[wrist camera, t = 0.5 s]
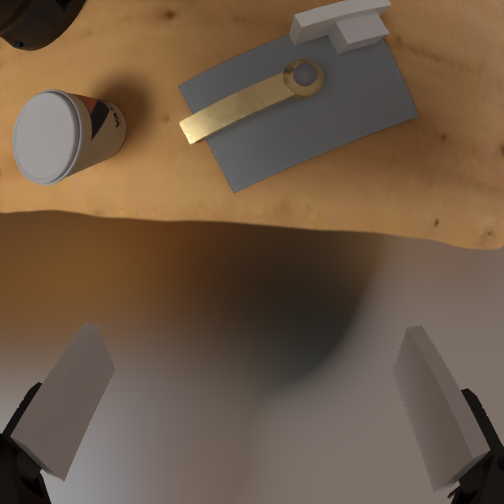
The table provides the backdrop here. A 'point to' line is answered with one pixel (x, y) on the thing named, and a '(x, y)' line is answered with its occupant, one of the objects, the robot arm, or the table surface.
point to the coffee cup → (65, 135)
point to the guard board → (319, 104)
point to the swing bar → (249, 103)
